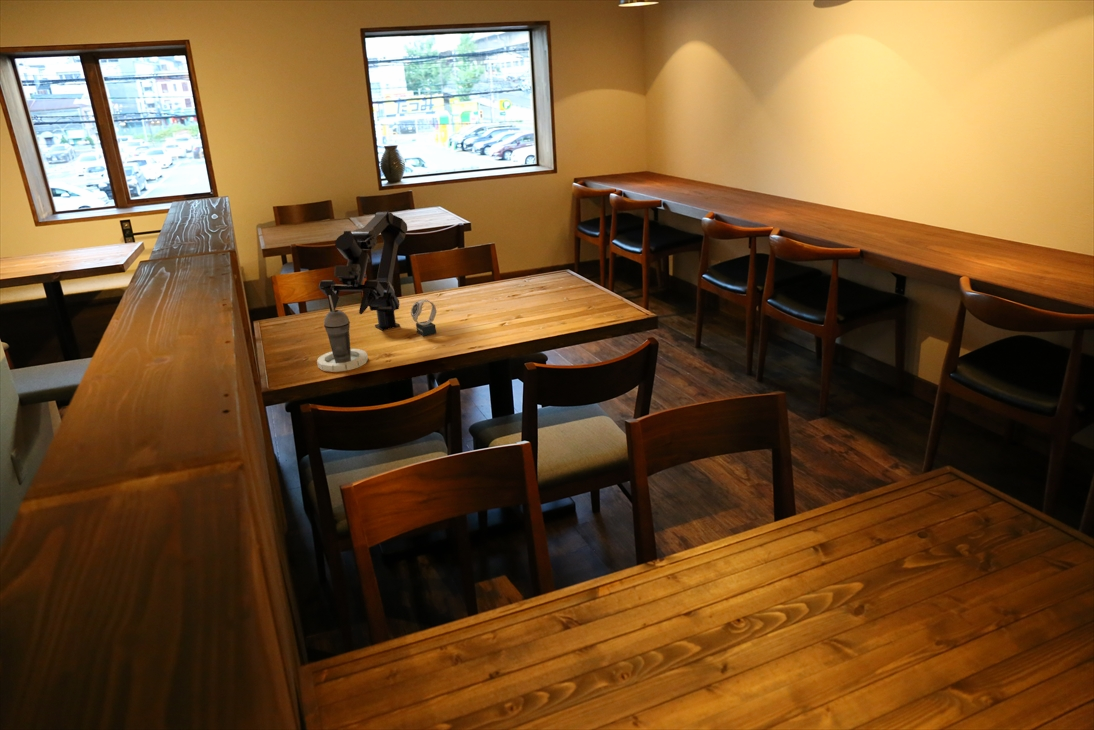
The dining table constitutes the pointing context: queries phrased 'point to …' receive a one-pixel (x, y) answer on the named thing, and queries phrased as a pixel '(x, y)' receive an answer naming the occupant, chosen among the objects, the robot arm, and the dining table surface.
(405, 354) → the dining table surface
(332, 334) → the beverage cup
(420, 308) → the watch
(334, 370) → the ring tray
